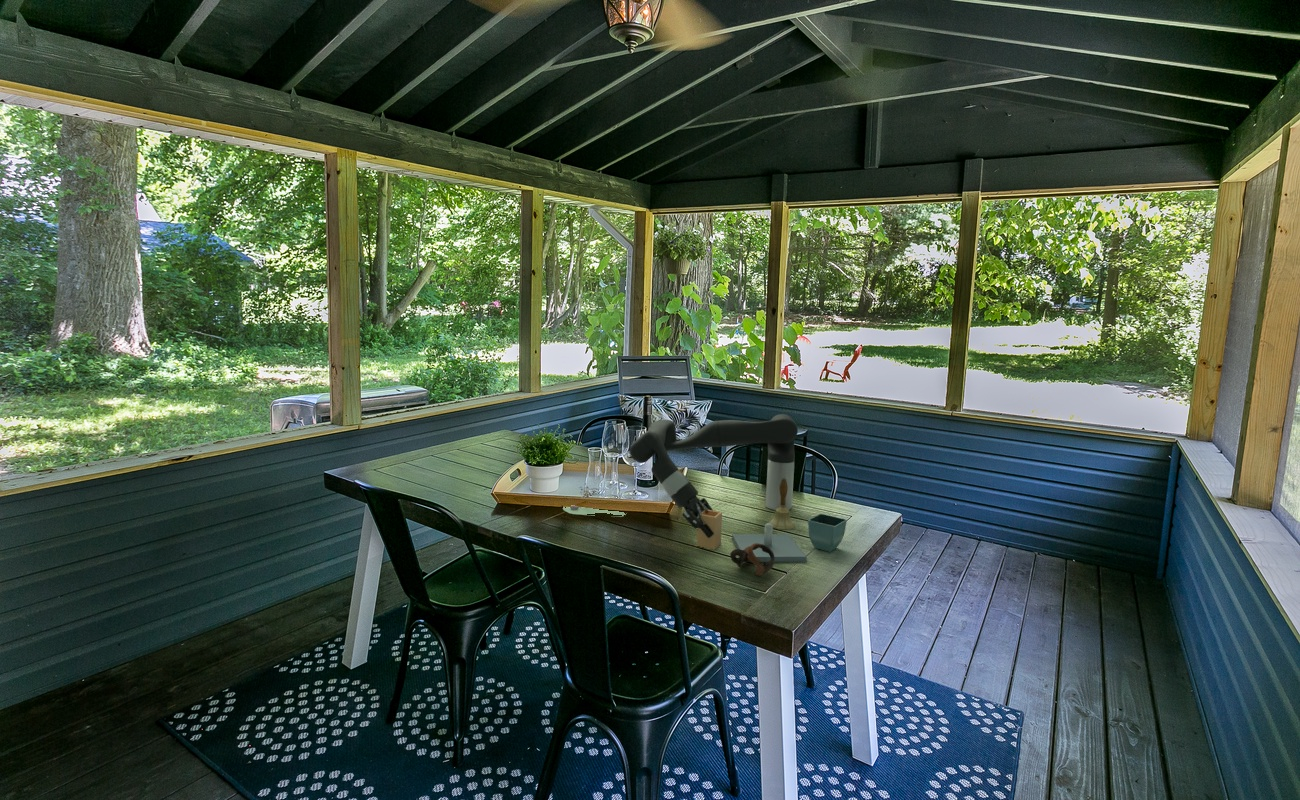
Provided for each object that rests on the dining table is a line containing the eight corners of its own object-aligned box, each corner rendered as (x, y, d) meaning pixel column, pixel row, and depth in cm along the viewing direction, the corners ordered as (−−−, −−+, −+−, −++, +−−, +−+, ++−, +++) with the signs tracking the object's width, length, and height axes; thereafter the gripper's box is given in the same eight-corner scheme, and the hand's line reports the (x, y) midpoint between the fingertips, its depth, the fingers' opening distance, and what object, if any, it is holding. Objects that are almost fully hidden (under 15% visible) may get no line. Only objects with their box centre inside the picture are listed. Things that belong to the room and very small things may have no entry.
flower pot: (818, 540, 206) (820, 512, 205) (845, 547, 201) (847, 519, 199) (805, 548, 199) (807, 519, 198) (833, 556, 194) (835, 526, 193)
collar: (696, 546, 199) (697, 514, 198) (703, 540, 204) (704, 509, 203) (714, 549, 197) (715, 517, 195) (720, 543, 202) (722, 512, 200)
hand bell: (794, 530, 214) (797, 483, 212) (768, 528, 216) (771, 481, 213) (794, 522, 222) (797, 476, 220) (769, 520, 224) (771, 474, 221)
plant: (640, 505, 238) (641, 481, 237) (616, 523, 219) (616, 497, 218) (578, 496, 248) (579, 472, 246) (550, 512, 229) (550, 487, 227)
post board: (731, 538, 206) (733, 513, 205) (788, 538, 207) (790, 513, 206) (744, 562, 188) (745, 534, 187) (806, 561, 190) (808, 534, 188)
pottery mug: (761, 562, 190) (773, 542, 185) (767, 588, 182) (780, 569, 178) (722, 554, 187) (734, 534, 183) (727, 580, 179) (739, 561, 175)
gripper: (680, 489, 210) (714, 532, 207) (661, 502, 197) (697, 547, 194) (696, 475, 207) (731, 518, 204) (678, 487, 194) (715, 533, 191)
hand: (714, 532), depth 199 cm, fingers closed on collar, 5 cm apart
